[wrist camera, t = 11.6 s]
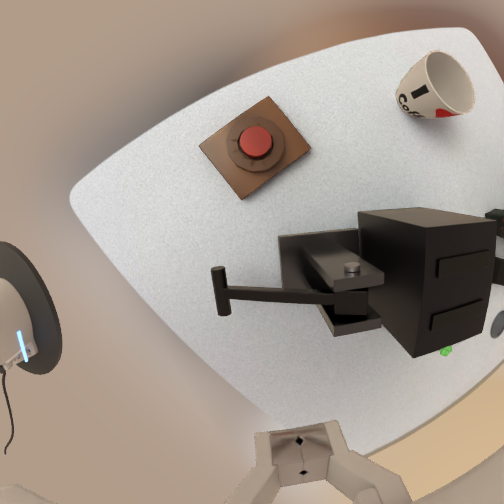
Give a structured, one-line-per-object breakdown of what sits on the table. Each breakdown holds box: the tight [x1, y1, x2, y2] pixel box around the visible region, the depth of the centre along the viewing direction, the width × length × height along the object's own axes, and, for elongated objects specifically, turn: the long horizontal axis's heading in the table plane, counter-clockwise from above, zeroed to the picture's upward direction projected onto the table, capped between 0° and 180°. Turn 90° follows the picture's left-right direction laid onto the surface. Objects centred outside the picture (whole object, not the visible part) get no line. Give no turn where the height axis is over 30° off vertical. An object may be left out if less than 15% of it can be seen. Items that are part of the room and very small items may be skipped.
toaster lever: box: [211, 266, 369, 316], centre depth 25 cm, size 15×5×2 cm, turn 96°
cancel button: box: [240, 126, 272, 158], centre depth 27 cm, size 3×3×2 cm
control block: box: [199, 96, 311, 200], centre depth 29 cm, size 10×8×4 cm
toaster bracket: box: [278, 228, 384, 337], centre depth 27 cm, size 10×8×14 cm
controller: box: [492, 257, 504, 286], centre depth 30 cm, size 4×12×10 cm, turn 82°
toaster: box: [358, 207, 497, 358], centre depth 26 cm, size 10×12×15 cm
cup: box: [396, 50, 475, 119], centre depth 24 cm, size 8×8×10 cm
